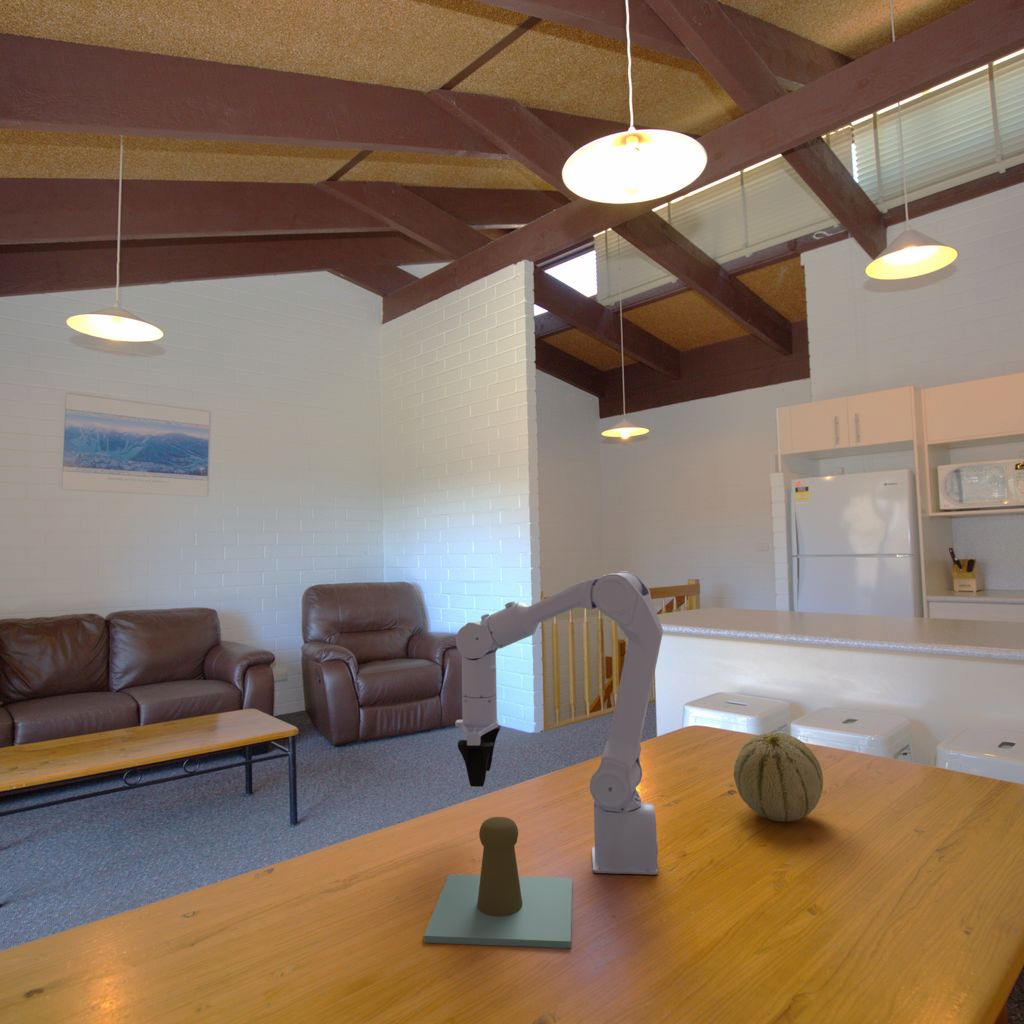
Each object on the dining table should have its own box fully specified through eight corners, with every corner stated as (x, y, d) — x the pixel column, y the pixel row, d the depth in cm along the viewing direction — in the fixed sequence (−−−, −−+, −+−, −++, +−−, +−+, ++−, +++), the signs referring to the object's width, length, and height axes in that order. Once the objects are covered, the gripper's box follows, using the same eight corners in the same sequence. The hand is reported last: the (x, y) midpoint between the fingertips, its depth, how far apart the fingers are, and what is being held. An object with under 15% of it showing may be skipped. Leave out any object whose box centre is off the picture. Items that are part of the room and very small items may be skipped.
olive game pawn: (516, 919, 88) (515, 831, 89) (471, 913, 90) (470, 827, 90) (527, 895, 94) (525, 813, 95) (484, 891, 96) (483, 810, 96)
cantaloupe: (808, 803, 128) (805, 721, 129) (838, 836, 113) (834, 743, 114) (727, 802, 129) (724, 720, 130) (745, 834, 115) (742, 742, 115)
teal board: (572, 883, 99) (572, 877, 99) (570, 948, 83) (570, 941, 83) (448, 879, 101) (448, 874, 101) (423, 942, 85) (423, 935, 85)
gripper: (462, 685, 122) (463, 763, 121) (447, 704, 108) (448, 792, 107) (502, 685, 121) (503, 764, 121) (492, 704, 107) (493, 793, 106)
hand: (480, 777), depth 114 cm, fingers open, 7 cm apart
